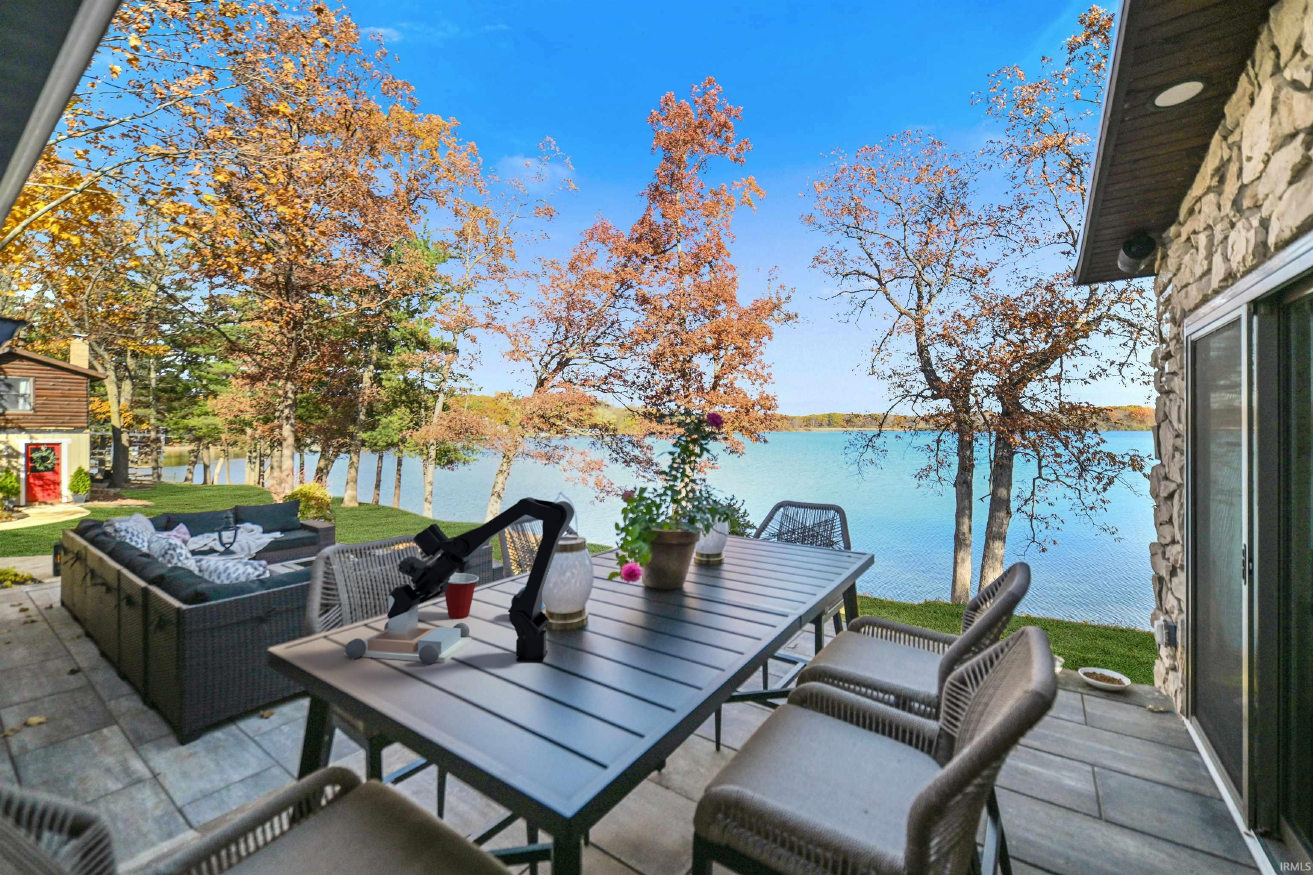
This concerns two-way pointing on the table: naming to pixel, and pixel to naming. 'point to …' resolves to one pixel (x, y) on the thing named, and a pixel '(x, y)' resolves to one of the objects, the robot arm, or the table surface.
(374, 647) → the chassis
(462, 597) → the plastic cup
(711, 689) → the table surface
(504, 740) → the table surface
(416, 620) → the blue-grey rectangular box
